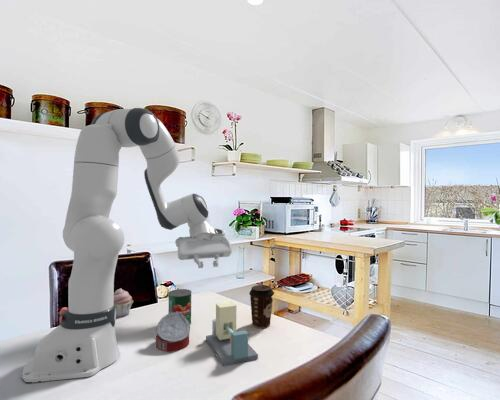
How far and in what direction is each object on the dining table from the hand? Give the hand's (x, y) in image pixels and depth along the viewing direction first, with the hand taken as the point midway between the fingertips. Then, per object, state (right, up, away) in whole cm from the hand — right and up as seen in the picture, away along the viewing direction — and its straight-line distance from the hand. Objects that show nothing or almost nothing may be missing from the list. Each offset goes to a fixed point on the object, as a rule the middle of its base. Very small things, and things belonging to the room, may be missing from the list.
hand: (208, 266), depth 115 cm
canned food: (-8, -20, -19) cm, 28 cm away
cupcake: (-34, -19, +5) cm, 39 cm away
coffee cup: (+19, -20, -4) cm, 28 cm away
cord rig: (+9, -20, -21) cm, 30 cm away
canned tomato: (-10, -20, -3) cm, 22 cm away
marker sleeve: (+8, -17, -18) cm, 26 cm away
